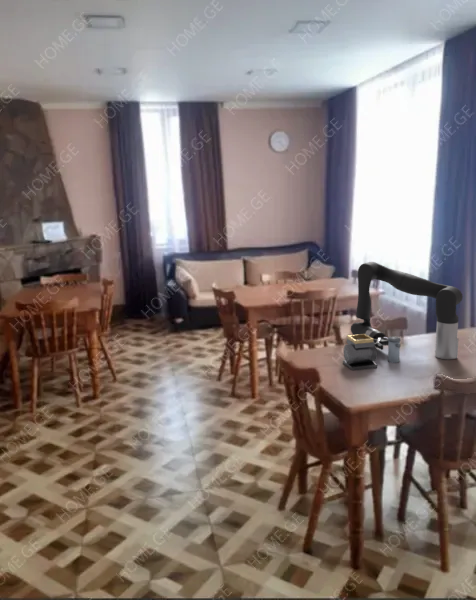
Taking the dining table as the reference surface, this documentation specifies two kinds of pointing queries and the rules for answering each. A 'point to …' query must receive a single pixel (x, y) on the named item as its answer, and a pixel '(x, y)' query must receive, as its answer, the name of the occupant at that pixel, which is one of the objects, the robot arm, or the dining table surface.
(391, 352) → the pump
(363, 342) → the motor
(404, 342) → the dining table surface
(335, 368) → the dining table surface
